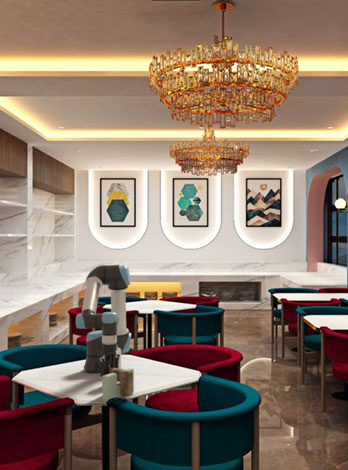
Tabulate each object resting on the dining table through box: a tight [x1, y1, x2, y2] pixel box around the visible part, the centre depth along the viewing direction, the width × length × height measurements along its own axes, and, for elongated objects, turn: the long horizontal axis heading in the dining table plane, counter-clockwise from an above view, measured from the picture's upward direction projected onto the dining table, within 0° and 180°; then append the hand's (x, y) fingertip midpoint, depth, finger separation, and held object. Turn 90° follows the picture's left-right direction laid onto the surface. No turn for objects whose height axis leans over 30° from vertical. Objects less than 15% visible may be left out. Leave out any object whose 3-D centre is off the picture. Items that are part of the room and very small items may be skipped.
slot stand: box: [101, 367, 135, 403], centre depth 271 cm, size 20×3×12 cm, turn 144°
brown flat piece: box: [109, 367, 134, 398], centre depth 271 cm, size 16×3×12 cm, turn 54°
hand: (109, 389), depth 274 cm, fingers closed on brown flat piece, 3 cm apart
